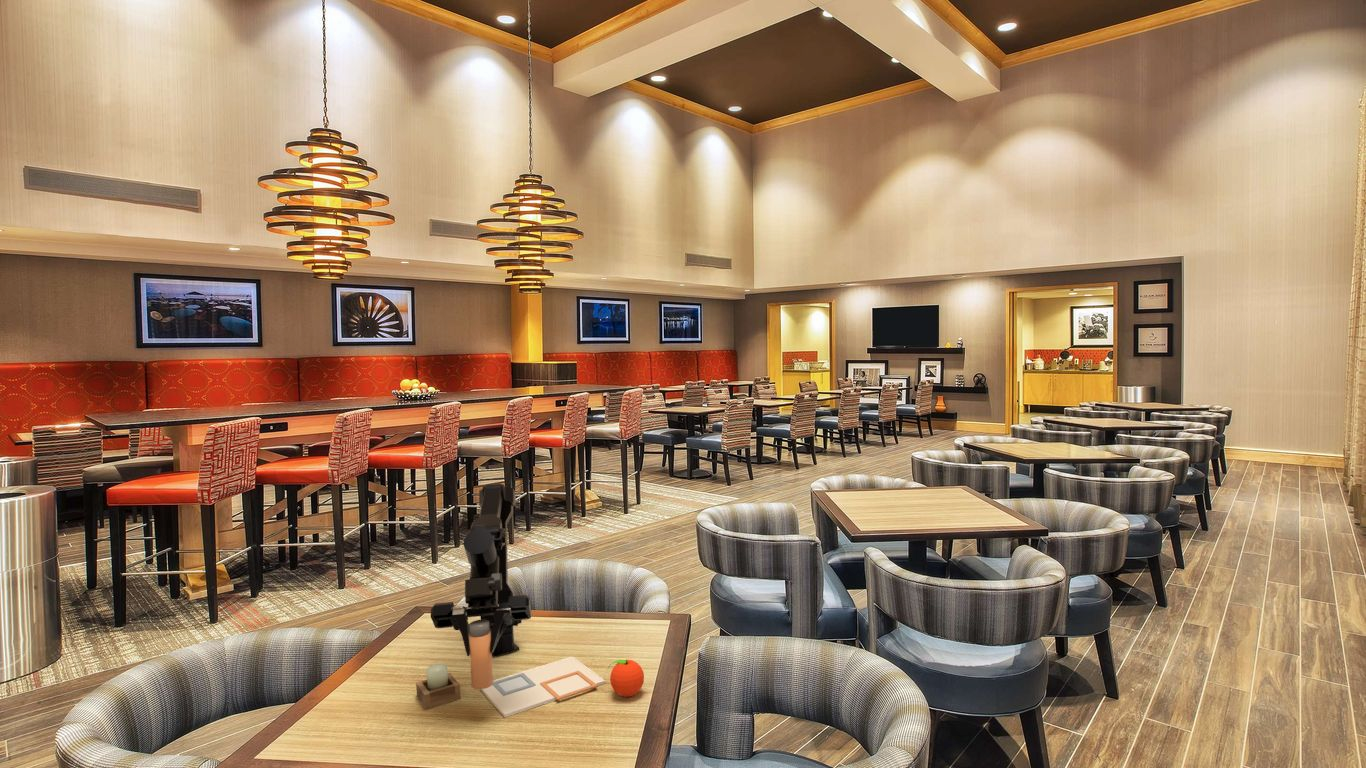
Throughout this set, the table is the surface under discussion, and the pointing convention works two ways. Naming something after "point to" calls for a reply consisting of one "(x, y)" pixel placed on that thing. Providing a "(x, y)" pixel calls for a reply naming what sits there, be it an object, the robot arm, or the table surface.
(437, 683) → the button
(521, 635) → the table surface
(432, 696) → the button base
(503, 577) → the robot arm
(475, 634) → the marker
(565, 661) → the picture sheet
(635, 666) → the clementine
